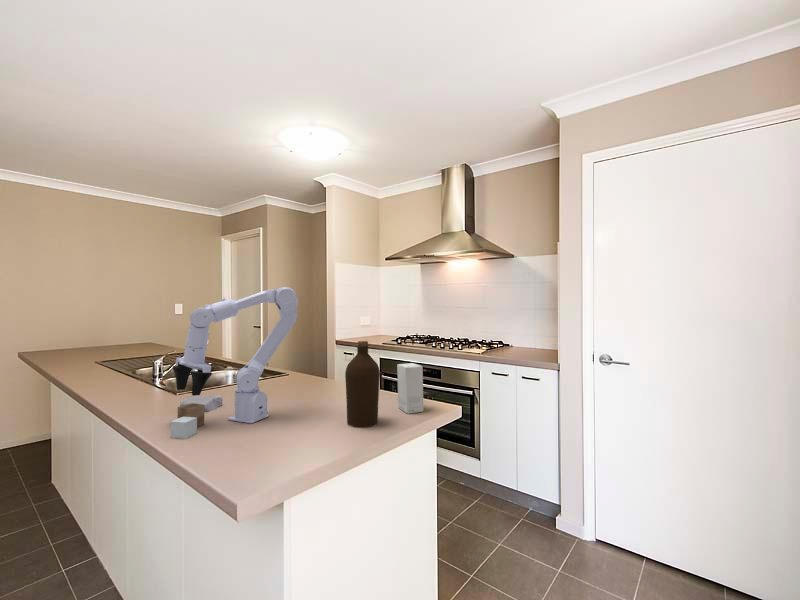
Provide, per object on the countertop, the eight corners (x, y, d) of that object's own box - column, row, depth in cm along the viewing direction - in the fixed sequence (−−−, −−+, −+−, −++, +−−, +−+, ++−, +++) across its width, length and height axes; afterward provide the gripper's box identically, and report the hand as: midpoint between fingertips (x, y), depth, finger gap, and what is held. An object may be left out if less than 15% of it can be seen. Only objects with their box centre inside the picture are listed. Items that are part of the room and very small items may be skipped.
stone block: (209, 418, 128) (225, 404, 138) (206, 404, 128) (223, 391, 137) (175, 418, 130) (194, 404, 139) (173, 404, 129) (192, 391, 139)
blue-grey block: (196, 433, 109) (197, 417, 109) (185, 439, 104) (185, 422, 104) (183, 432, 110) (183, 416, 110) (170, 437, 105) (170, 421, 105)
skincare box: (423, 412, 130) (424, 366, 129) (405, 414, 127) (405, 367, 127) (413, 405, 137) (414, 362, 137) (396, 407, 135) (396, 363, 135)
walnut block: (204, 424, 116) (204, 404, 116) (189, 429, 112) (190, 409, 112) (192, 422, 118) (192, 403, 118) (177, 427, 113) (177, 407, 113)
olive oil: (353, 430, 111) (353, 344, 111) (340, 420, 121) (340, 340, 121) (385, 424, 117) (386, 342, 117) (370, 415, 126) (371, 339, 126)
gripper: (169, 343, 117) (161, 388, 116) (198, 351, 109) (189, 399, 109) (191, 343, 123) (183, 386, 122) (220, 351, 115) (212, 396, 115)
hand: (188, 392), depth 116 cm, fingers open, 7 cm apart
